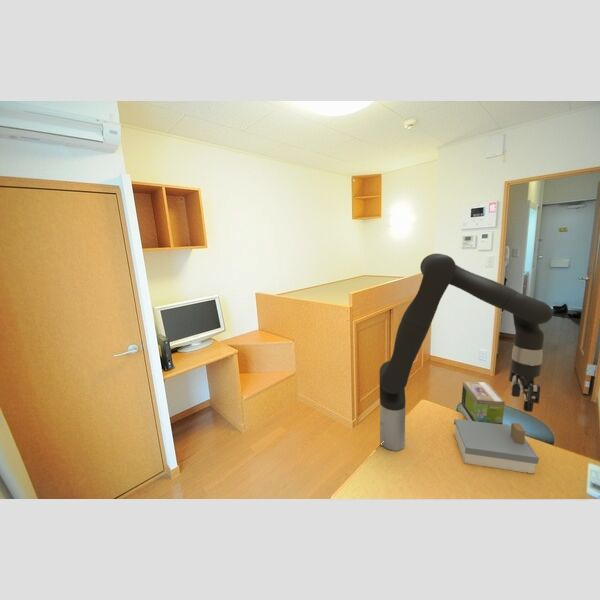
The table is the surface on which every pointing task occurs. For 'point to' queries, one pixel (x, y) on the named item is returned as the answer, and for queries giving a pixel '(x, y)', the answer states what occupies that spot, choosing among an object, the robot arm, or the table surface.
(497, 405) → the tea box
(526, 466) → the box
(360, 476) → the table surface
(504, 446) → the lid
